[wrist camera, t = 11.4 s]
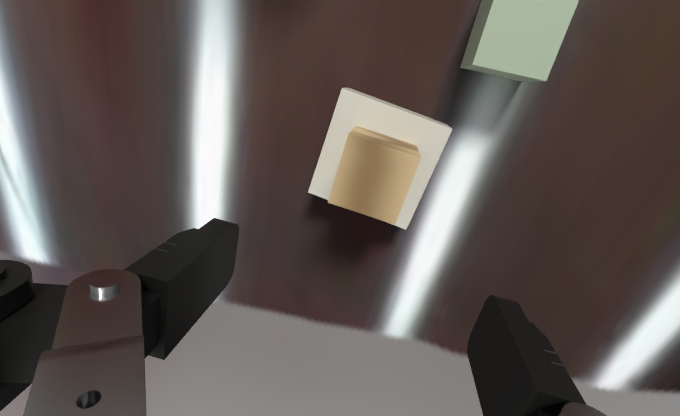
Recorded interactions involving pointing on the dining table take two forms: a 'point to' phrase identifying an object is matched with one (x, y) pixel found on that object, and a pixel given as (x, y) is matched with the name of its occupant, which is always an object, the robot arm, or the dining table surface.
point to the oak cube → (374, 174)
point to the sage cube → (518, 37)
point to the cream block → (388, 122)
